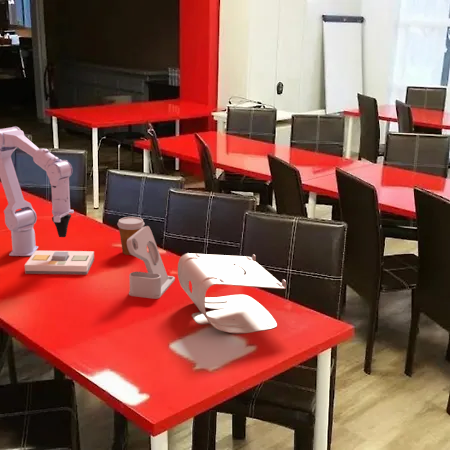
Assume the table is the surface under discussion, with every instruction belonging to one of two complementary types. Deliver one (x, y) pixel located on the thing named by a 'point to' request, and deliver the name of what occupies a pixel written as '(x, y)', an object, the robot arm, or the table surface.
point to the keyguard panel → (59, 263)
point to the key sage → (80, 258)
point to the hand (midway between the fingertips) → (62, 236)
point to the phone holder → (147, 266)
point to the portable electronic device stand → (234, 304)
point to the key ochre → (41, 257)
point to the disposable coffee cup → (128, 230)
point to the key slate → (60, 256)
